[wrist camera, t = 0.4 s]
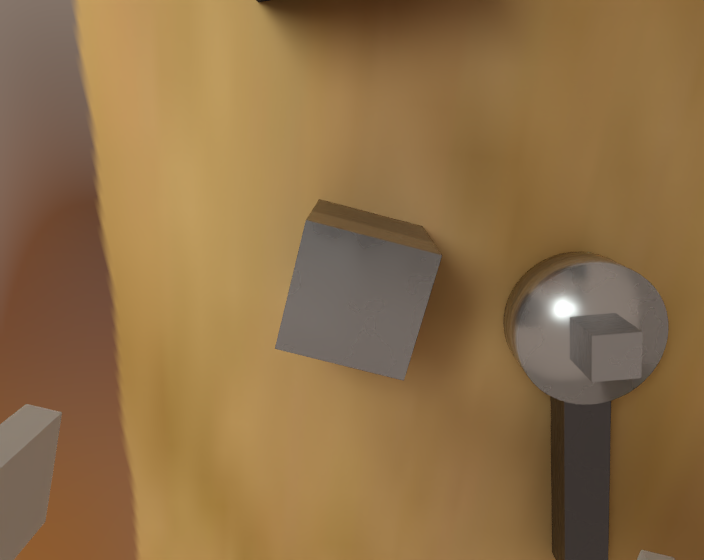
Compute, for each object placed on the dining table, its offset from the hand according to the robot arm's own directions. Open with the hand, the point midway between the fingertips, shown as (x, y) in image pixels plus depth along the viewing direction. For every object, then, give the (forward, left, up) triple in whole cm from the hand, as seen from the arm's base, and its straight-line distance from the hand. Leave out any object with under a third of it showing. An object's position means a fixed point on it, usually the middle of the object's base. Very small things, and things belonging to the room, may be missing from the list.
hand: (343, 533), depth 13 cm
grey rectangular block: (-1, 0, -21) cm, 21 cm away
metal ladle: (+4, +15, -21) cm, 26 cm away
